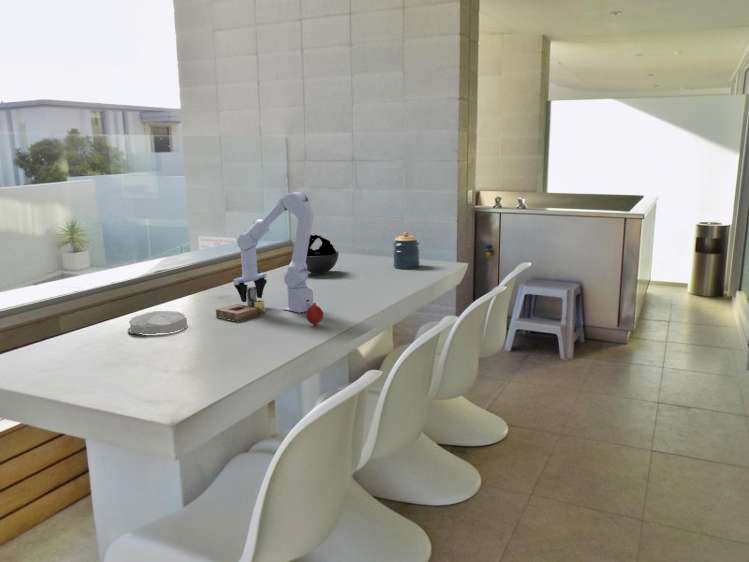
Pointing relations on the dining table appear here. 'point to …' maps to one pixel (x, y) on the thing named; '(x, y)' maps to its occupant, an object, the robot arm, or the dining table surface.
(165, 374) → the dining table surface
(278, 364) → the dining table surface
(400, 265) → the canister
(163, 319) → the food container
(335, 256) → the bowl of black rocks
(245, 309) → the collar block
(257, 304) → the brass pin short
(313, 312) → the onion
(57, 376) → the dining table surface
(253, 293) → the steel pin long
